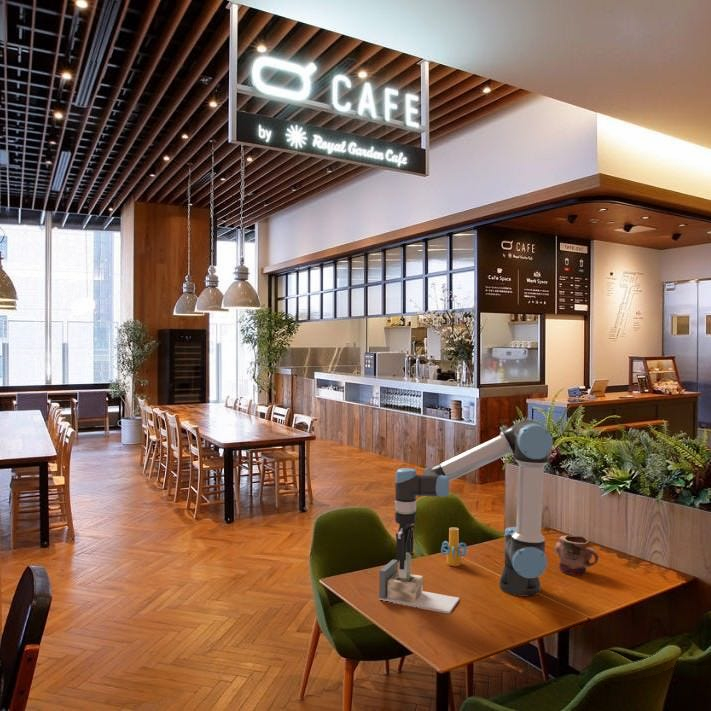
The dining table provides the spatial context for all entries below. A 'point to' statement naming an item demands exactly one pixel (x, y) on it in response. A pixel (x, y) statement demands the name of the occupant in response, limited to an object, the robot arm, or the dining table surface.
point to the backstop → (423, 601)
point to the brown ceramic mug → (575, 554)
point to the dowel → (407, 568)
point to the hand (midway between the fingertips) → (404, 575)
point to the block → (405, 588)
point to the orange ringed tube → (453, 548)
